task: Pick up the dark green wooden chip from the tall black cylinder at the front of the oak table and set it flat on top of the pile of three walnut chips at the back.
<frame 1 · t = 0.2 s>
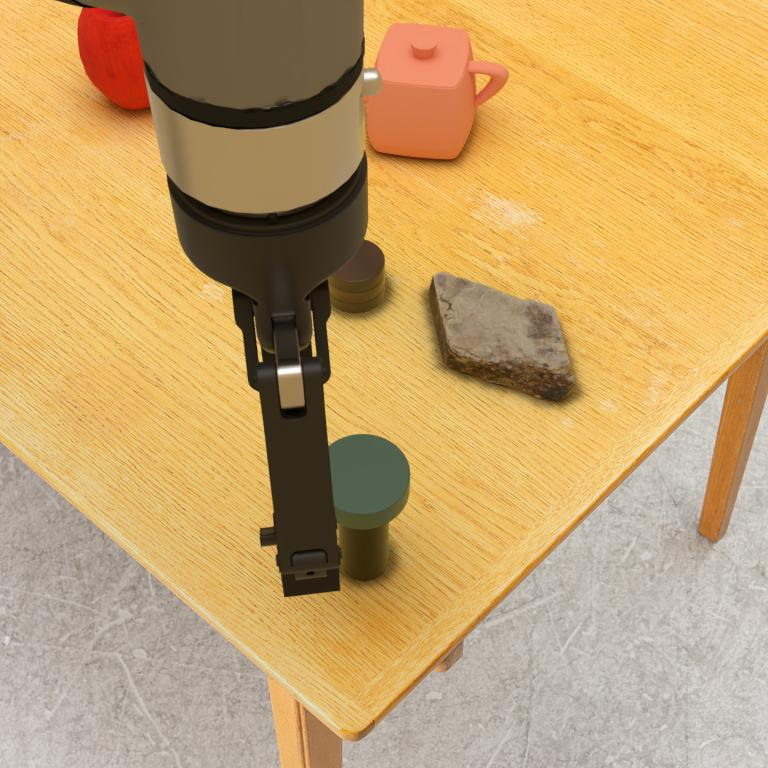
hand: (299, 469, 60), 27 cm above the table, tool pointing down, fingers open, 13 cm apart
stone: (498, 347, 100), on the table
black cylinder: (364, 560, 88), on the table
chip pile: (355, 292, 104), on the table
apple: (140, 99, 120), on the table
green chip: (362, 488, 80), point 10 cm above the table, touching black cylinder
teapot: (412, 127, 117), on the table
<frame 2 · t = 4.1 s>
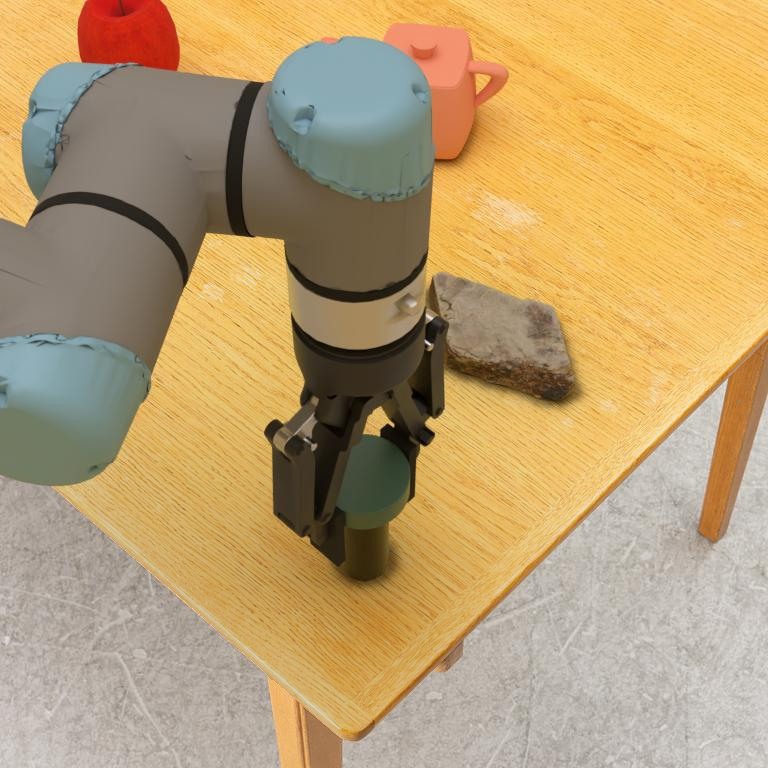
hand: (363, 519, 83), 6 cm above the table, tool pointing down, fingers closed on green chip, 6 cm apart
green chip: (362, 488, 80), point 10 cm above the table, touching gripper, black cylinder
everything else where it was.
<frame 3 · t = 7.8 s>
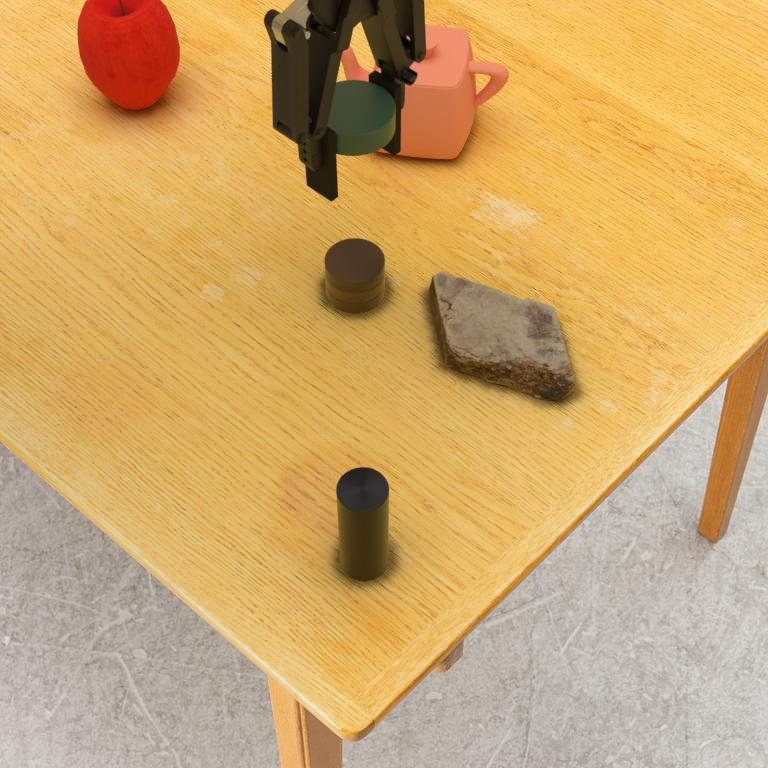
hand: (354, 167, 92), 15 cm above the table, tool pointing down, fingers closed on green chip, 6 cm apart
green chip: (353, 127, 89), point 19 cm above the table, touching gripper
everything else where it was.
when the fingers open (0 cm above the table, at t = 11.6 s): green chip stays where it is, resting on chip pile.
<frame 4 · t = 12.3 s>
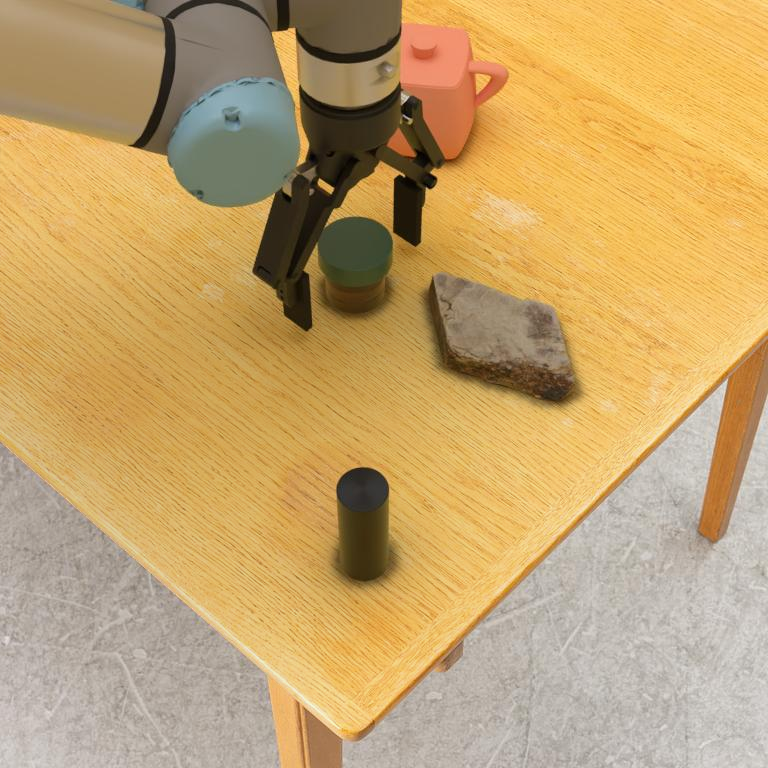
hand: (354, 278, 102), 2 cm above the table, tool pointing down, fingers open, 13 cm apart
green chip: (355, 259, 100), point 4 cm above the table, touching chip pile
everything else where it was.
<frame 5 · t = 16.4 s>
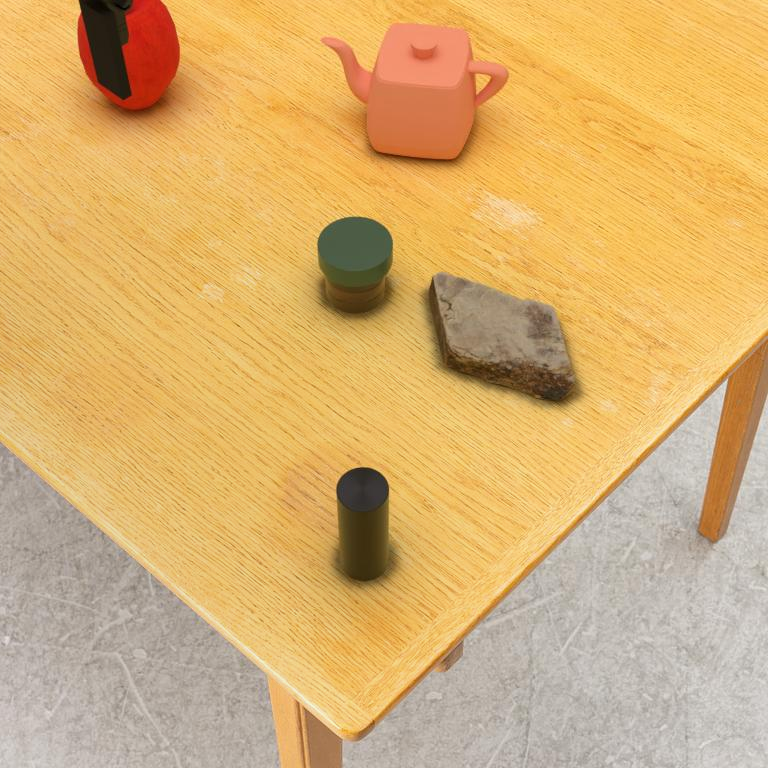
hand: (32, 138, 76), 27 cm above the table, tool pointing down, fingers open, 13 cm apart
nothing on the table moved.
at the end: green chip 0.1 cm off-centre on the chip pile, point 4.2 cm above the chip pile's base; green chip tilted 0°; the gripper is holding nothing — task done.
